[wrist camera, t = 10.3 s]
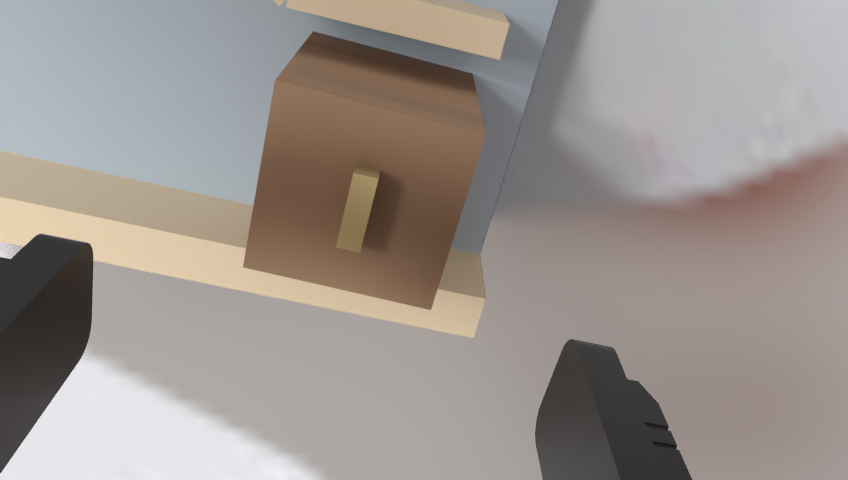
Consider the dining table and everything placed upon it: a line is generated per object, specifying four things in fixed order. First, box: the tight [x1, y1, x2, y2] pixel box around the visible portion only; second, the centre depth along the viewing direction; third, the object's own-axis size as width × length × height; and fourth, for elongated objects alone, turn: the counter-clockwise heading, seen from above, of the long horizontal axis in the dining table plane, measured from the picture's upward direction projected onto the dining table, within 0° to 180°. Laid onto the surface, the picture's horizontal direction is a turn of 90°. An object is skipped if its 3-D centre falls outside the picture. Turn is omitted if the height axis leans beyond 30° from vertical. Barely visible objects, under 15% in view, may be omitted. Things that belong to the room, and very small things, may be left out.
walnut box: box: [243, 31, 486, 310], centre depth 20 cm, size 5×5×7 cm
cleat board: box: [0, 0, 559, 338], centre depth 21 cm, size 12×22×4 cm, turn 77°
